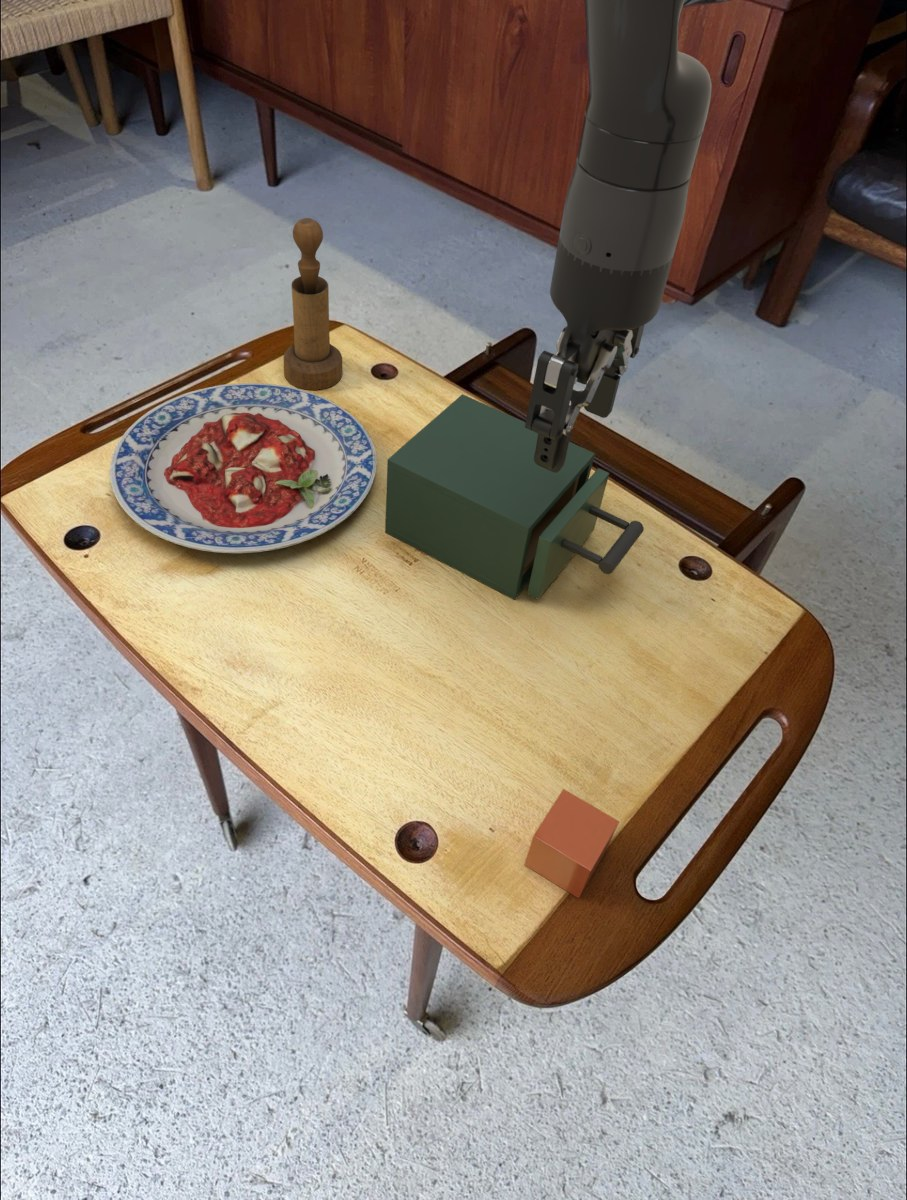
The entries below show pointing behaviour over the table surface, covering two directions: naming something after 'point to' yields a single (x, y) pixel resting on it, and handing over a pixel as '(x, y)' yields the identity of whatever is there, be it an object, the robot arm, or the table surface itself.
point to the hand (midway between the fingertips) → (573, 438)
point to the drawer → (575, 534)
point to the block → (570, 843)
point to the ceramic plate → (243, 468)
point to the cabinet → (476, 492)
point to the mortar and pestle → (311, 318)
